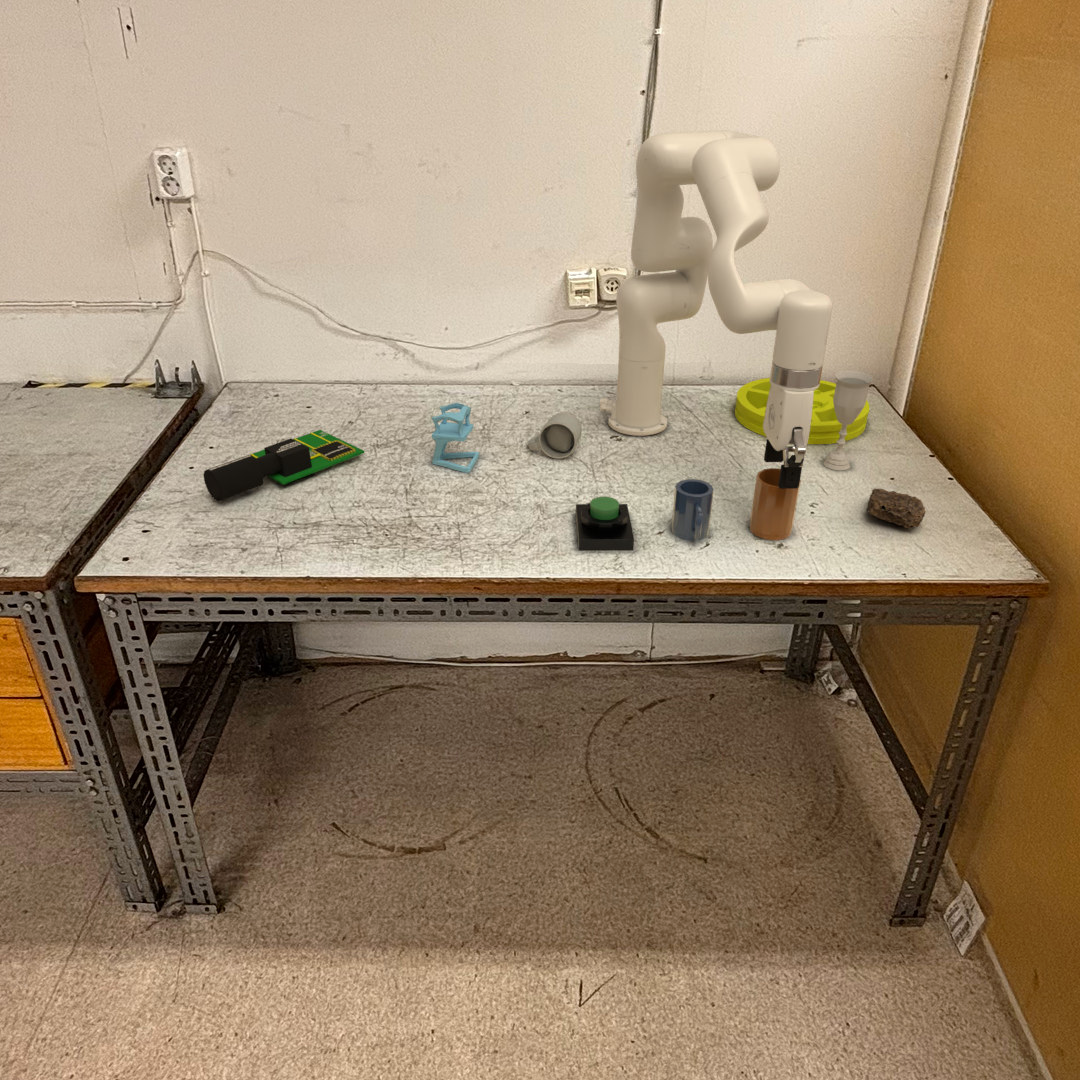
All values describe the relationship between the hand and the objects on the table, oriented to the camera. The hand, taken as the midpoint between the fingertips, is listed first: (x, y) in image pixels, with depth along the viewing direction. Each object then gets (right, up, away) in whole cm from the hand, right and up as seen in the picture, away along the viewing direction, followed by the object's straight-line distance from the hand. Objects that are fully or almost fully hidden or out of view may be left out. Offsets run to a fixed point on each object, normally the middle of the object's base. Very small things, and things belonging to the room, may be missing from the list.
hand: (780, 474), depth 142 cm
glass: (0, -9, +6) cm, 11 cm away
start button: (-29, -6, +3) cm, 30 cm away
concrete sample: (+22, -7, +9) cm, 25 cm away
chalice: (+19, +4, +27) cm, 33 cm away
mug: (-14, -10, +4) cm, 18 cm away
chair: (-57, +4, +28) cm, 63 cm away
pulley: (+17, +16, +47) cm, 53 cm away
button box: (-29, -10, +5) cm, 31 cm away
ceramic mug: (-37, +7, +33) cm, 50 cm away
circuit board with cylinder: (-90, +2, +25) cm, 94 cm away
